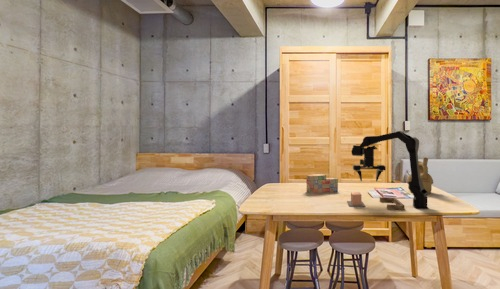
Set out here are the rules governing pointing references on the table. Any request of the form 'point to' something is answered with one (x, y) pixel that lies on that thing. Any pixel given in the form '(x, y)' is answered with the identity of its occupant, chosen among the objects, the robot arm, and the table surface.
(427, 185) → the ceramic vessel
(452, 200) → the table surface
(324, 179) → the stack of blocks
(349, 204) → the charcoal mat
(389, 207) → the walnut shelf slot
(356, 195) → the terracotta blank
